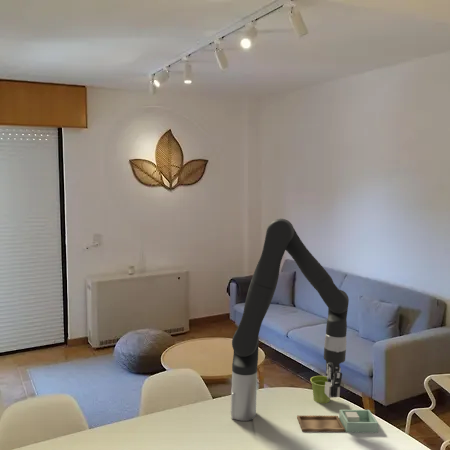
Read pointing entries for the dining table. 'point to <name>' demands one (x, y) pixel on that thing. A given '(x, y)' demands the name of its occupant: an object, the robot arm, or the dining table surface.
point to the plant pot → (319, 389)
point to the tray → (320, 424)
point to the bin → (365, 421)
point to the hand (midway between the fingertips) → (332, 393)
